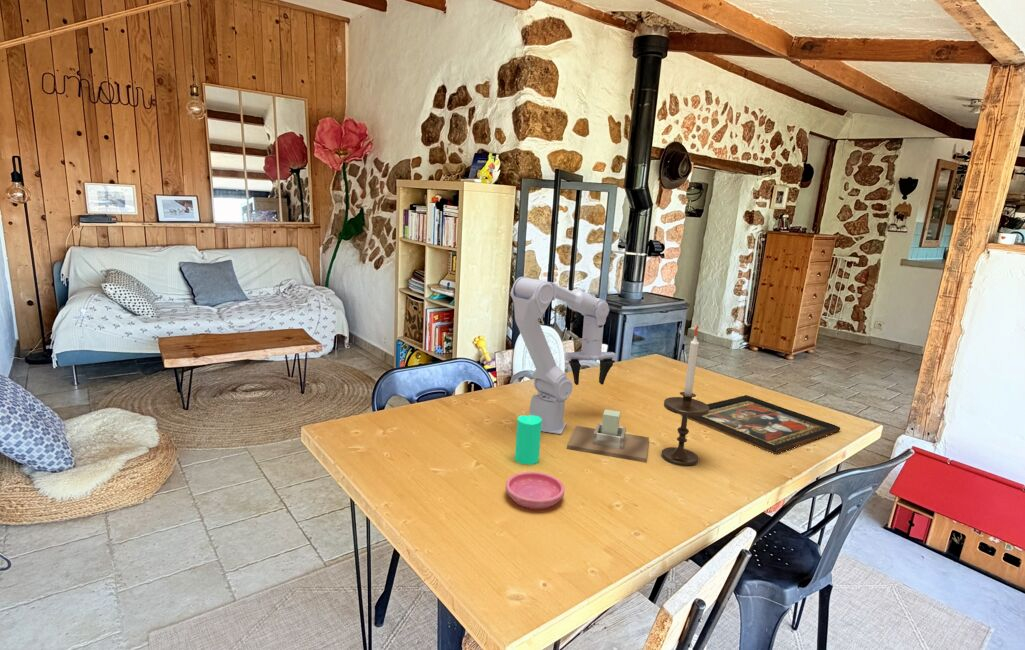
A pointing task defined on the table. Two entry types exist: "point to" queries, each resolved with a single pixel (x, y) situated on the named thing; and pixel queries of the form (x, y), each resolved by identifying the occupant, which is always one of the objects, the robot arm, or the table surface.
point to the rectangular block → (610, 422)
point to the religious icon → (763, 424)
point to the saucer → (535, 489)
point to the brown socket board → (609, 443)
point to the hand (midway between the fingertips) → (588, 383)
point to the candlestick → (685, 412)
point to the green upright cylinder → (528, 439)
